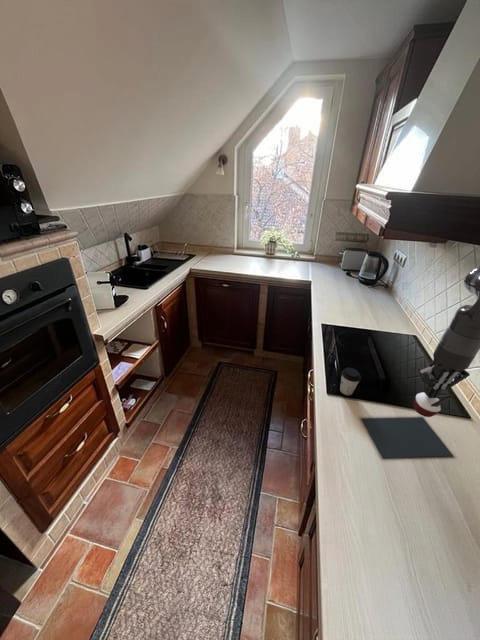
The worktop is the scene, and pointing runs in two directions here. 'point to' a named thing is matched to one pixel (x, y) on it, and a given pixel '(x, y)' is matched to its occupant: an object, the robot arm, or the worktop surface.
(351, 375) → the coffee cup
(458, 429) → the worktop surface
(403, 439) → the mat
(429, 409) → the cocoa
